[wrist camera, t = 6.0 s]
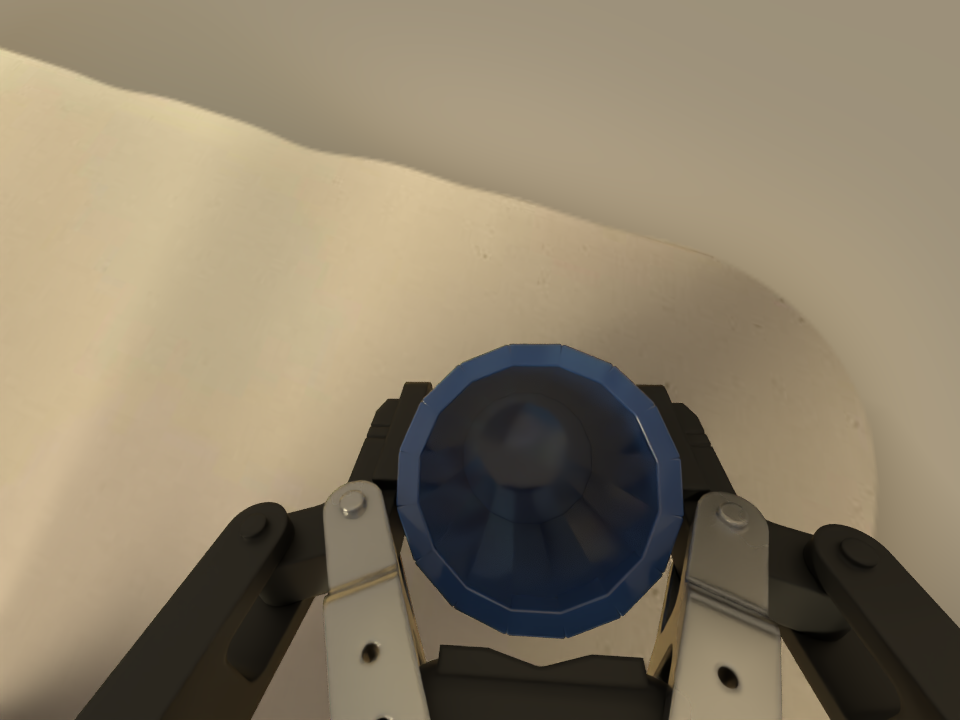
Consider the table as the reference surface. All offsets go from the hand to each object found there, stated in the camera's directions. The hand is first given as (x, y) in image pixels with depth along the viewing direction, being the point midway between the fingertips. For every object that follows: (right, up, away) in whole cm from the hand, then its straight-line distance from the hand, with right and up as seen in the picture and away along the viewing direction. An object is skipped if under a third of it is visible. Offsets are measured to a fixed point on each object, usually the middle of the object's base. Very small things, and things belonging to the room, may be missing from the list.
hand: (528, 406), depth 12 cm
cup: (0, -2, +4) cm, 5 cm away
